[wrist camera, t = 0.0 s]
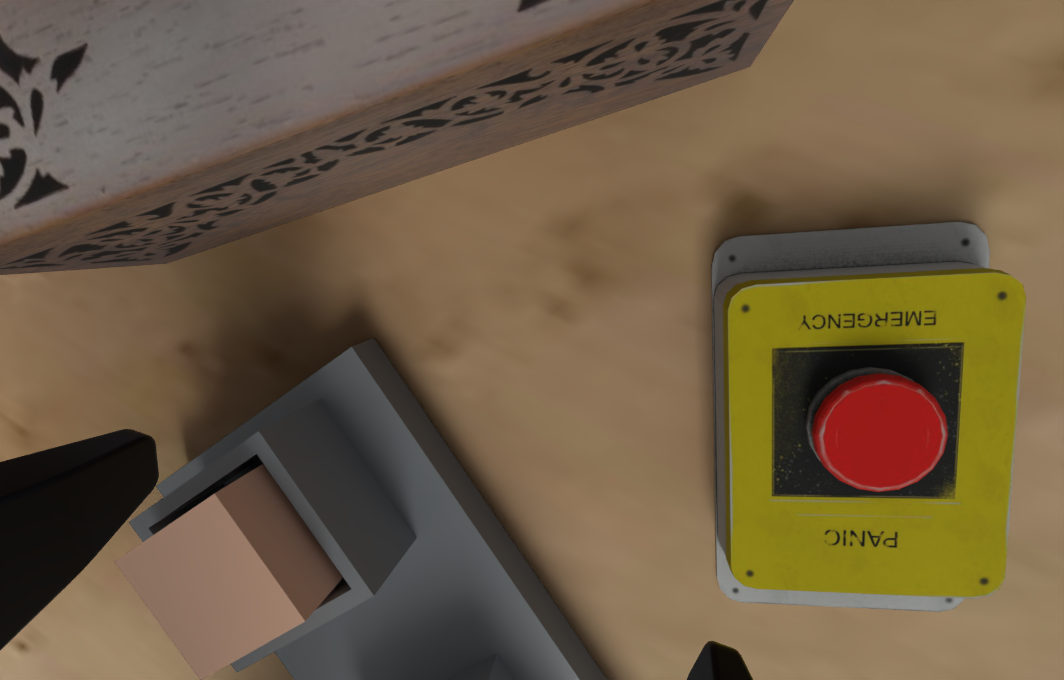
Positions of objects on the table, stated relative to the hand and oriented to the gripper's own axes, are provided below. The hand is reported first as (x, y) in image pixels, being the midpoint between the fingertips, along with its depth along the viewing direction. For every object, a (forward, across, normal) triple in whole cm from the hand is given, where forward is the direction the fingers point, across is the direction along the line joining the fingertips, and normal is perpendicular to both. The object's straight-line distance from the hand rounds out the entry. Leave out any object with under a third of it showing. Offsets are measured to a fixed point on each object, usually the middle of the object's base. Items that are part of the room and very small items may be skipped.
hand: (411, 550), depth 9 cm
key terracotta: (+8, +8, +12) cm, 16 cm away
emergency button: (+16, -11, +4) cm, 20 cm away
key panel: (+12, +3, +17) cm, 21 cm away
